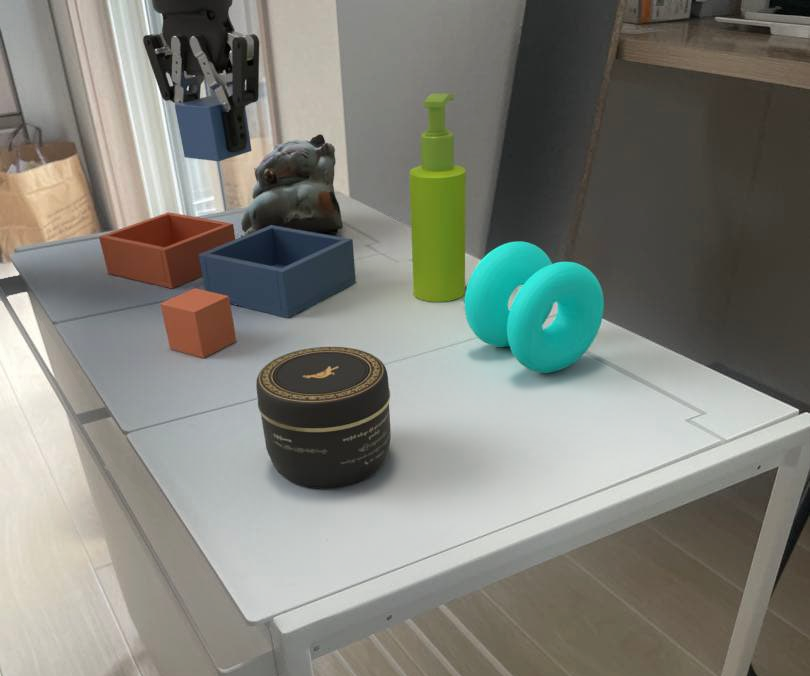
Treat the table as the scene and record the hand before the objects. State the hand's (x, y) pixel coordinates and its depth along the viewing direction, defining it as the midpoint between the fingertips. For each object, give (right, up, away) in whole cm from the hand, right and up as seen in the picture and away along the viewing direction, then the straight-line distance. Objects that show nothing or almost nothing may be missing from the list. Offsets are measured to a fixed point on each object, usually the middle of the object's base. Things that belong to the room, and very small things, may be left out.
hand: (217, 147), depth 88 cm
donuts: (+32, -23, -6) cm, 40 cm away
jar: (+14, -35, -21) cm, 43 cm away
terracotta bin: (-10, -6, +19) cm, 22 cm away
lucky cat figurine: (+4, +1, +28) cm, 28 cm away
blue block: (0, -1, 0) cm, 1 cm away
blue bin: (+5, -12, +11) cm, 17 cm away
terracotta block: (-1, -21, -1) cm, 21 cm away
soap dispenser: (+24, -13, +9) cm, 28 cm away
